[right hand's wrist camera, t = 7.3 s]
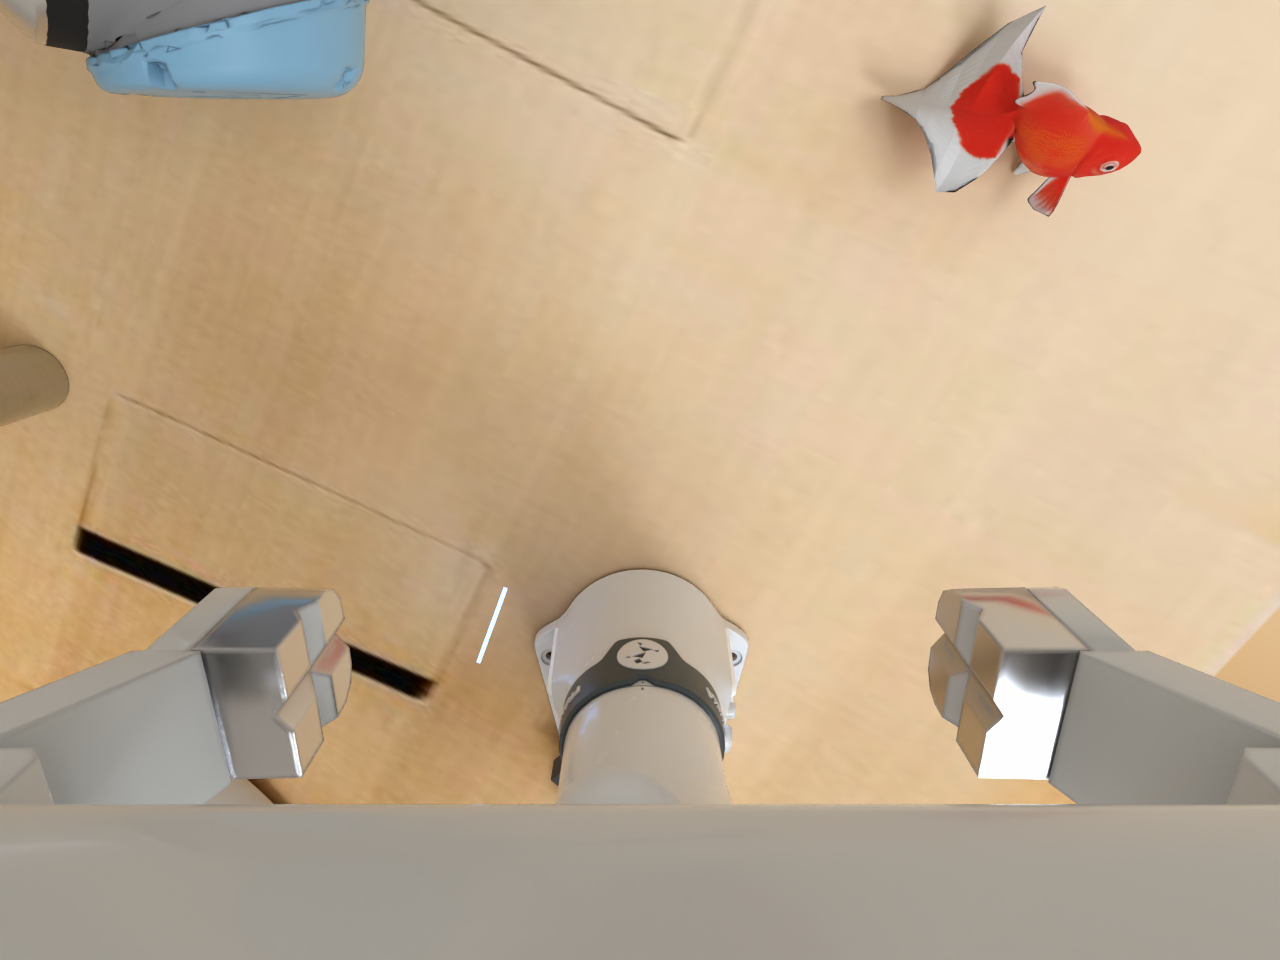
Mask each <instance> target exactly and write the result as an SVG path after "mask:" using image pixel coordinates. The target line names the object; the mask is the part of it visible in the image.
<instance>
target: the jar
mask: <svg viewBox="0 0 1280 960" xmlns="http://www.w3.org/2000/svg"><path fill="white" fill-rule="evenodd" d="M68 388H69V387H68V379H67V375H66V373H65V371H64V369H63V367H62V366H61V364H60V363H59V362H58V361H57V359H56V358H54V357H53V356H52V355H51V354H50V353H48V352H46V351H45V350H43V349H41V348H38V347H35V346H31V345H18V346H14V347H9V348H5V349H0V427H1V426H4V425H7V424H10V423H13V422H16V421H18V420H21V419H24V418H27V417H30V416H33V415H36V414H39V413H42V412H45V411H48V410H50V409H53V408H56V407H58V406H59V405H60V404H61V403H62V402H63V401H64V400H65V398H66V396H67V393H68Z"/></svg>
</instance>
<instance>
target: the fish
mask: <svg viewBox="0 0 1280 960" xmlns="http://www.w3.org/2000/svg"><path fill="white" fill-rule="evenodd" d="M1045 7H1046V6H1044V7H1042V8H1040V9H1038V10H1036V11H1034V12H1031V13H1029V14H1027V15H1025V16H1023V17H1021V18H1019V19H1016V20H1014V21H1012V22H1010V23H1008V24H1007V25H1005V26H1004V27H1003V28H1001V29H1000V30H999V31H997V32H996V33H995V34H994V35H992V36H991V37H990V38H988V39H987V40H986V41H985V42H983V43H982V44H981V45H979V46H978V47H977V48H975V49H974V50H973V51H972V52H970V53H969V54H968V55H967V56H965V57H964V58H963V59H962V60H961V61H960V62H958V63H957V64H956V65H955V66H954V67H952V68H951V69H950V70H949V71H948V72H946V73H945V74H944V75H942V76H941V77H940V78H938V79H937V80H936V81H934V82H933V83H932V84H930V85H929V86H928V87H926V88H925V89H922V90H918V91H914V92H911V93H907V94H903V95H899V96H882V97H881V99H882V100H884V101H886V102H889V103H891V104H893V105H895V106H897V107H898V108H900V109H901V110H903V111H904V112H906V113H907V114H909V115H910V116H912V117H913V118H915V119H916V121H917V123H918V124H919V126H920V128H921V129H922V131H923V133H924V134H925V137H926V140H927V143H928V146H929V149H930V152H931V156H932V164H933V171H934V178H935V185H936V192H956V191H958V190H959V189H961V188H962V187H964V186H966V185H967V184H969V183H970V182H972V181H974V180H975V179H977V178H978V177H979V176H980V175H981V174H982V173H983V172H985V171H986V170H987V169H988V168H989V167H990V166H991V165H992V164H993V163H994V162H995V160H996V159H997V158H998V157H999V156H1000V155H1001V154H1002V152H1003V151H1004V150H1005V149H1006V148H1007V147H1008V145H1009V144H1010V143H1011V142H1015V144H1016V149H1017V153H1018V155H1019V158H1020V160H1021V163H1020V164H1019V165H1018V167H1017V168H1016V169H1015V170H1014V174H1015V175H1019V174H1023V173H1026V172H1029V171H1031V172H1033V173H1035V174H1038V175H1041V176H1045V177H1049V178H1048V179H1047V180H1046V181H1045V182H1044V183H1043V184H1042V185H1041V186H1040V187H1039V188H1038V189H1037V190H1036V191H1035V192H1034V193H1033V194H1032V195H1031V196H1030V197H1029V198H1028V203H1029V204H1030V205H1031V207H1032V208H1033V209H1034V210H1036V211H1038V212H1040V213H1042V214H1044V215H1046V216H1048V217H1049V216H1050V215H1051V214H1052V212H1053V211H1054V209H1055V208H1056V206H1057V204H1058V202H1059V200H1060V198H1061V196H1062V194H1063V192H1064V190H1065V188H1066V186H1067V183H1068V181H1069V179H1070V177H1071V176H1073V177H1075V178H1078V177H1085V176H1096V175H1103V174H1108V173H1111V172H1114V171H1117V170H1120V169H1121V168H1123V167H1125V166H1126V165H1128V164H1129V163H1131V162H1132V161H1133V160H1134V159H1135V158H1136V157H1137V156H1138V155H1139V154H1140V153H1141V146H1140V144H1139V142H1138V141H1137V139H1136V138H1135V136H1134V134H1133V133H1132V131H1131V129H1130V128H1129V126H1128V125H1127V124H1125V123H1123V122H1120V121H1118V120H1116V119H1113V118H1111V117H1108V116H1104V115H1098V114H1097V113H1096V112H1094V111H1093V110H1092V109H1090V108H1089V107H1087V106H1085V105H1084V104H1083V103H1081V102H1080V101H1079V100H1078V99H1077V98H1076V97H1075V96H1074V95H1073V94H1072V92H1071V91H1070V90H1069V89H1068V88H1066V87H1063V86H1060V85H1057V84H1053V83H1046V82H1038V81H1034V82H1033V85H1034V87H1035V89H1034V91H1033V92H1032V93H1030V94H1028V95H1025V96H1024V92H1023V86H1022V80H1021V79H1022V51H1023V49H1024V47H1025V45H1026V43H1027V41H1028V39H1029V37H1030V35H1031V33H1032V31H1033V29H1034V27H1035V25H1036V23H1037V21H1038V19H1039V18H1040V16H1041V14H1042V12H1043V10H1044V8H1045Z"/></svg>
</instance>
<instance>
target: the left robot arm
mask: <svg viewBox="0 0 1280 960" xmlns="http://www.w3.org/2000/svg"><path fill="white" fill-rule="evenodd" d="M368 2H369V0H0V12H1V13H2V14H3V15H5V16H6V17H7V18H8V19H9V20H10V21H11V22H12V23H13V24H14V25H15V26H16V27H18V28H19V29H20V30H21V31H22V32H23V33H24V34H25V35H26V36H27V37H28V38H29V39H31V40H32V41H33V42H34V43H36V44H41V45H46V46H51V47H57V48H63V49H69V50H75V51H80V52H84V53H87V54H89V55H90V57H88V58H87V59H86V65H87V69H88V70H89V71H90V73H91V74H92V75H93V77H94V79H95V81H96V83H97V85H98V86H99V87H100V88H101V89H103V90H104V91H106V92H109V93H115V94H124V95H128V94H137V95H146V96H159V97H179V98H209V99H318V98H331V97H337V96H341V95H343V94H345V93H347V92H349V91H350V90H351V89H353V88H354V87H355V85H356V84H357V83H358V82H359V80H360V78H361V76H362V72H363V68H364V51H365V17H366V4H367V3H368Z"/></svg>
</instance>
